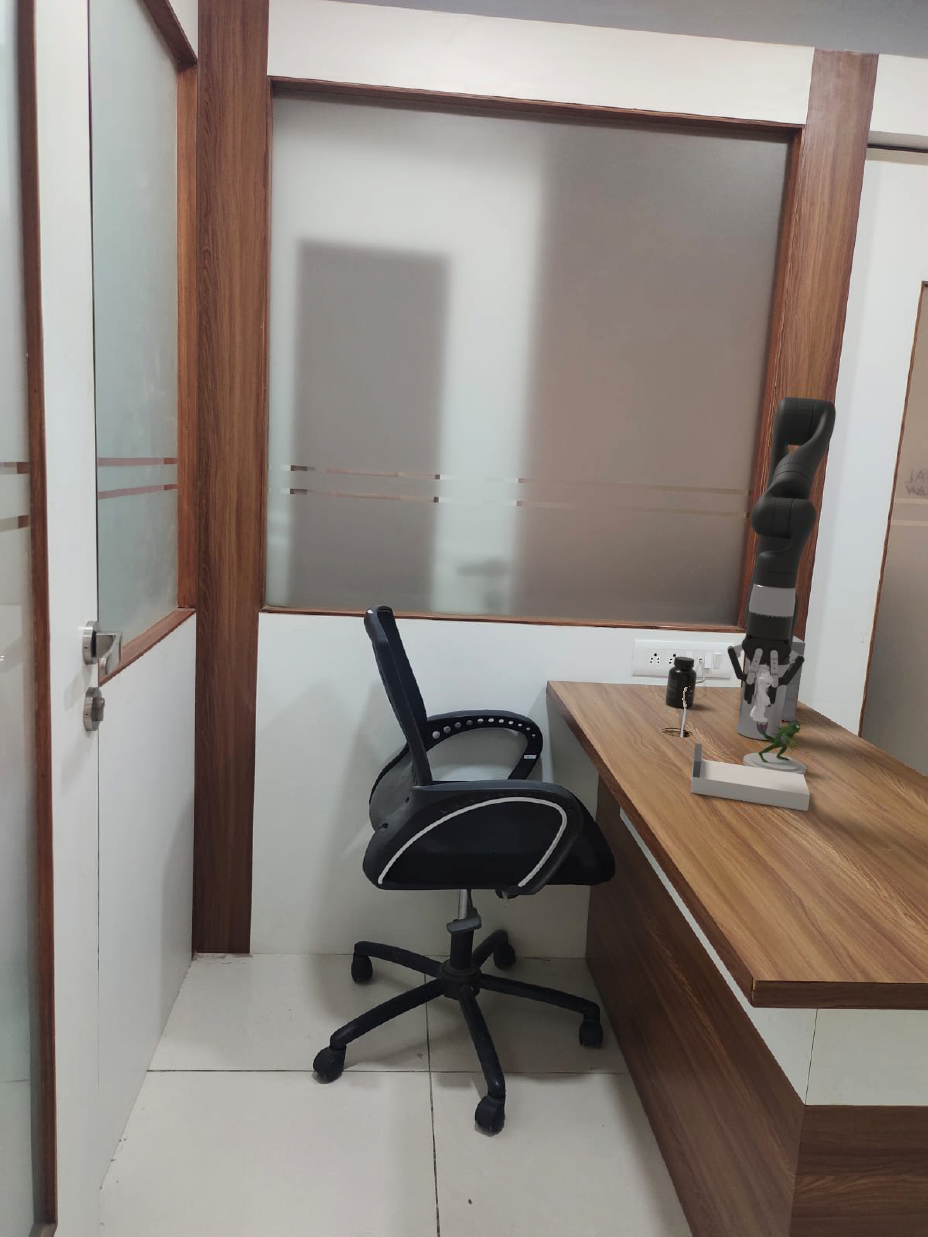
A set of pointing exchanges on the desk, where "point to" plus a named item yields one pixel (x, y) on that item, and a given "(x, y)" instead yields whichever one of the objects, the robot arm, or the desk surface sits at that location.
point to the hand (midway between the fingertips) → (758, 704)
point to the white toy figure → (761, 692)
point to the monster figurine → (778, 760)
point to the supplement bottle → (681, 682)
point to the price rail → (697, 760)
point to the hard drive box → (793, 685)
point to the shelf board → (751, 785)
